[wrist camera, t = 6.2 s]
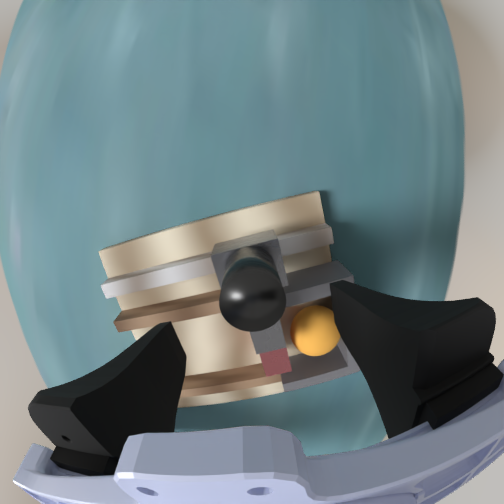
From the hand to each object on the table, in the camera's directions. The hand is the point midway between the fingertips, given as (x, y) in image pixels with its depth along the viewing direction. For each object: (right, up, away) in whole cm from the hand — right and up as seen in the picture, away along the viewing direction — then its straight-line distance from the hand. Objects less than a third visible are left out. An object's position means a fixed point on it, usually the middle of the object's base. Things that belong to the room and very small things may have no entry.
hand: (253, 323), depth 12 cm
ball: (+5, -3, +9) cm, 10 cm away
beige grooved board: (-2, -3, +12) cm, 12 cm away
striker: (+1, 0, +10) cm, 10 cm away
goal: (+5, -2, +11) cm, 12 cm away
